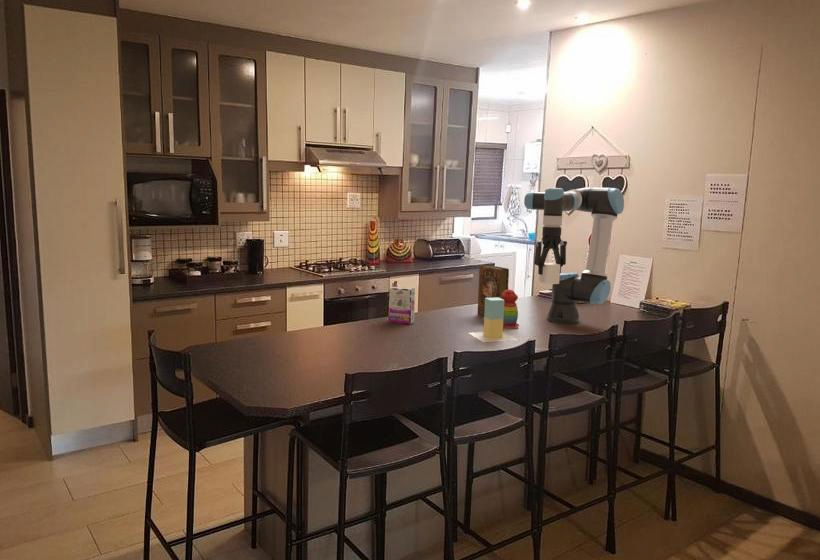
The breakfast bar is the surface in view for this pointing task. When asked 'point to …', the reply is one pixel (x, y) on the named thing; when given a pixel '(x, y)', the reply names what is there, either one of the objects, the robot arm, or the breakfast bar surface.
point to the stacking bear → (510, 309)
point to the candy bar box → (401, 305)
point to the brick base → (493, 328)
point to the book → (491, 284)
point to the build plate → (485, 339)
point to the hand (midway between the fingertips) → (548, 281)
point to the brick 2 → (551, 273)
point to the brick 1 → (494, 308)
